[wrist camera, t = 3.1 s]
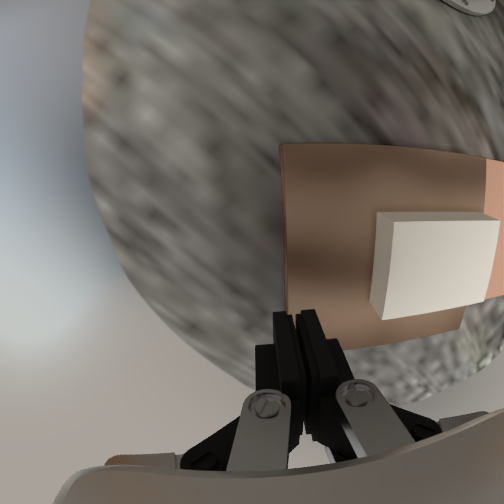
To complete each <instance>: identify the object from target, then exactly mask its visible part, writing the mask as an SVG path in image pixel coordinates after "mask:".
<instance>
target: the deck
mask: <svg viewBox="0 0 504 504" xmlns="http://www.w3.org/2000/svg"><path fill="white" fill-rule="evenodd" d="M279 149H280V166H281V186H282V208H283V233H284V266H285V311H286V312H287V315H289V314H292V317H293V321H294V325H295V322H296V314H300V312H301V310H307V309H315V311H316V313H317V316H318V319H319V321H320V324H321V326H322V329H323V332H324V334H325V337H326V339H333V338H337V339H338V341H339V343H340V346H341V348H342V350H349V349H357V348H364V347H370V346H377V345H383V344H389V343H395V342H400V341H406V340H411V339H416V338H421V337H425V336H430V335H435V334H439V333H443V332H447V331H452V330H456V329H459V327H460V324H461V321H462V318H463V314H464V311H465V307H466V306H461V307H456V308H451V309H446V310H441V311H436V312H431V313H425V314H419V315H413V316H407V317H401V318H394V319H388V320H381V318H380V317H379V315H378V313H377V312H376V310H375V309H374V307H373V306H372V304H371V303H370V302H369V299H370V292H371V283H372V274H373V264H374V252H375V239H376V221H377V212H481V213H483V214H484V204H485V190H486V158H484V157H478V156H472V155H466V154H460V153H453V152H446V151H439V150H430V149H421V148H411V147H400V146H387V145H370V144H341V143H298V144H281V145H279Z"/></svg>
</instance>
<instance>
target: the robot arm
mask: <svg viewBox="0 0 504 504" xmlns="http://www.w3.org/2000/svg"><path fill="white" fill-rule="evenodd" d="M442 1H444V2H446V3H447V4H449V5H451V6H452V7H454V8H456V9H458V10H460V11H462V12H464V13H467V14H470V15H475V16H482V15H486V14H488V13H490V12H492V11H493V9H494V8H495V5H496V0H442ZM273 340H274V344H266V345H255V364H256V391H255V392H254V393H252V394H250V395H249V396H248V397H247V398H246V399H245V401H244V403H243V407H242V411H241V415H240V416H239V417H237V418H236V419H235V420H233V421H232V422H230V423H229V424H227V425H226V426H225V427H223V428H222V429H220V430H219V431H217V432H216V433H214V434H213V435H211V436H210V437H208V438H207V439H205V440H203V441H202V442H201V443H199V444H197V445H196V446H194V447H192V448H191V449H189V450H188V451H187V452H186V453H184V454H182V455H175V453H160V454H141V455H116V456H113V457H112V458H109V459H108V460H107V462H106V463H105V465H104V466H97V467H91V468H87V469H83V470H80V471H78V472H76V473H75V474H73V475H72V476H71V477H70V478H69V479H68V480H67V481H66V482H65V484H64V485H63V486H62V488H61V490H60V491H59V493H58V494H57V496H56V498H55V500H54V503H53V504H504V409H500V410H496V411H494V412H491V413H488V412H485V411H481V412H475V413H470V414H466V415H460V416H455V417H449V418H443V419H439V421H438V422H435V421H434V420H432V419H430V418H427V417H424V416H421V415H418V414H415V413H412V412H410V411H406V410H404V409H401V408H399V407H396V406H393V405H391V404H389V403H388V402H387V400H386V399H385V397H384V396H383V395H382V393H381V392H380V390H379V389H378V388H377V387H376V386H375V385H374V384H373V383H371V382H369V381H366V380H363V379H354V377H353V374H352V372H351V369H350V367H349V365H348V362H347V360H346V357H345V355H344V353H343V350H342V348H341V346H340V343H339V341H338V339H337V338H333V339H326V337H325V334H324V332H323V329H322V326H321V324H320V321H319V319H318V316H317V313H316V311H315V309H307V310H301V312H300V314H296V322H295V325H294V321H293V317H292V314H289V315H287V312H286V311H281V312H273ZM303 421H304V425H305V431H306V434H312V440H313V441H317V442H319V443H321V444H322V445H324V446H325V451H326V454H327V456H328V459H329V461H330V463H331V464H325V465H319V466H311V467H303V468H294V469H288V459H289V453H290V452H291V451H292V450H293V449H294V448H295V447H296V446H297V445H298V444H299V438H300V435H302V432H303Z"/></svg>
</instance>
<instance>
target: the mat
mask: <svg viewBox="0 0 504 504" xmlns="http://www.w3.org/2000/svg"><path fill="white" fill-rule="evenodd" d="M484 214H486V215H488V216H491V217H493V218H495V219H498V220H500V227H499V234H498V241H497V246H496V252H495V257H494V262H493V267H492V271H491V276H490V280H489V284H488V288H487V292H486V295H485V299H489V298H493V297H497V296H501V295H504V162H500V161H495V160H490V159H486V190H485V204H484ZM485 299H484V300H485Z"/></svg>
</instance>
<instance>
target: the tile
mask: <svg viewBox="0 0 504 504" xmlns="http://www.w3.org/2000/svg"><path fill="white" fill-rule="evenodd" d="M499 227H500V220H498V219H495V218H493V217H491V216H488V215H486V214H483V213H481V212H377V221H376V239H375V252H374V264H373V274H372V283H371V292H370V299H369V302H370V303H371V304H372V306H373V307H374V309H375V310H376V312H377V313H378V315H379V317H380V318H381V320H388V319H394V318H401V317H407V316H413V315H419V314H425V313H431V312H436V311H441V310H446V309H451V308H456V307H461V306H466V305H470V304H475V303H479V302H484V299H485V295H486V292H487V288H488V284H489V280H490V276H491V271H492V267H493V262H494V257H495V252H496V246H497V241H498V234H499Z"/></svg>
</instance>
